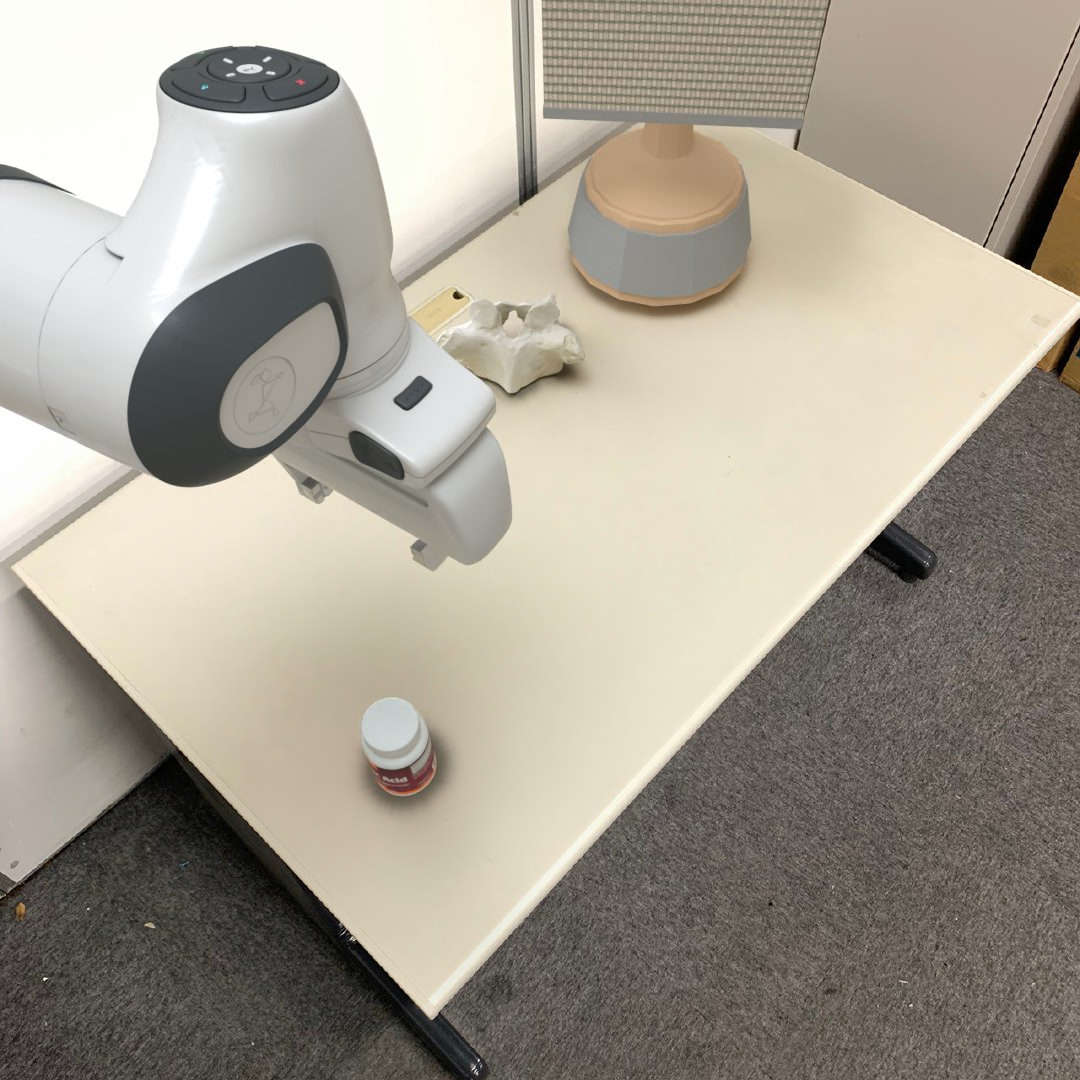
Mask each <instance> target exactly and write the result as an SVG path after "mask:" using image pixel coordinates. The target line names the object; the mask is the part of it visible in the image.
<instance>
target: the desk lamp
mask: <svg viewBox="0 0 1080 1080" xmlns="http://www.w3.org/2000/svg"><path fill="white" fill-rule="evenodd" d="M829 1H830V0H541V34H542V41H541V42H542V82H543V83H542V85H543V105H542V119H546V120H566V121H567V120H570V121H591V122H592V121H593V122H594V121H595V122H617V123H640V124H641V123H642V124H644V125H643V128H636V129H634V130H631V131H628V132H626V133H625V132H624V133H622V134H620V135H616V136H614V137H612V138H610V139H609V140H608V141H607V142H606V143H604V144H603V145H601V146H600V147H599V148H598V149H596V150H595V151H594V152H593V154H592V156H590V157H589V159H588V160H587V163H586V165H585V168H584V169H583V172H582V174H581V176H580V179H579V183H578V187H577V190H576V196H575V199H574V203H573V206H572V211H571V214H570V219H569V223H568V227H567V235H568V242H569V243H568V244H569V249H570V256H571V261H572V264H573V265H574V266H575V267H576V268H577V270H578V271H579V272H580V273H581V275H582V276H583V277H584V278H585V280H586V281H587V283H588V284H590V286H593V287H595V288H597V289H599V290H600V291H603V292H604V293H606V294H608V295H610V296H611V297H613V298H615V299H617V300H620V301H625V302H631V303H634V304H641V305H645V306H650V307H663V306H672V305H673V306H674V305H675V306H676V305H677V306H678V305H686V304H687V305H689V304H693V303H695V302H697V301H700V300H702V299H705V298H707V297H710V296H712V295H715V294H717V293H720V292H722V291H723V290H724V289H725V288H726V287H727V286H728V285H729V284H730V283H731V282H732V281H734V279H735V278H737V277H738V276H739V275H740V274H741V273H742V272H743V268H744V265H745V262H746V259H747V256H748V252H749V249H750V246H751V242H752V228H751V226H752V225H751V212H750V210H751V209H750V197H749V185H748V182H747V178H746V175H745V172H744V169H743V166H742V164H741V163H740V161H739V158H737V157H736V155H735V154H734V153H732V152H731V151H730V150H729V148H728V147H726V146H725V144H723V143H722V142H721V141H718V140H717V139H714V138H712V137H709V136H707V135H705V134H703V133H701V132H699V131H696V130H694V126H709V127H710V126H712V127H732V128H733V127H734V128H754V129H755V128H757V129H758V128H760V129H778V130H779V129H781V130H783V129H784V130H803V125H804V121H805V112H806V107H807V103H808V102H807V101H808V97H809V94H810V89H811V84H812V79H813V75H814V70H815V66H816V60H817V56H818V53H819V52H818V51H819V48H820V42H821V37H822V33H823V28H824V25H825V19H826V14H827V10H828V5H829Z"/></svg>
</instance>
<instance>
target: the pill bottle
mask: <svg viewBox="0 0 1080 1080" xmlns="http://www.w3.org/2000/svg"><path fill="white" fill-rule="evenodd" d="M360 731H361V748H362V751H363V753H364V756H365V758H366V760H367V762H368V766H369V767H370V769H371V772H372V773H373V774H372V775H373V776H374V778H375V780H376V782H377V784H378V785H379V786H380V788H381V789H383V790H384V791H385V792H387V793H388V794H390V795H392V796H396V797H409V796H413V795H416V794H418V793H420V792H422V791H423V790H424V789H425V788H426V787H428V785H430V783H431V782H432V780H433V778H434V777H435V774H436V770H437V757H436V753H435V749H434V745H433V742H432V738H431V735H430V731H429V727H428V724H427V722H426V720H425V718H424V717H423V715H421V713H419V712H418V711H417V710H416V708H415V707H414V705H412V703H411V702H409V701H408V700H406V699H404V698H400V697H393V696H390V697H385V698H381V699H379V700H376V701H374V703H372V704H371V705H370V706H369V707H368V708H367V709H366V711H365V712H364V714H363V716H362V719H361V722H360Z"/></svg>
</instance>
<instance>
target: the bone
mask: <svg viewBox="0 0 1080 1080" xmlns="http://www.w3.org/2000/svg"><path fill="white" fill-rule="evenodd" d="M557 296H558V293H557V292H556V293H553V294H552V293H550V294H549V295H547V296H546V297H544V298H542V299H539V300H533V301H530V300H525V301H523V302H515V303H513V302H509V301H505V300H498V301H496V302H491V301H489V299H487V298H484V297H477V298H476V299H473V300H471V302H470V303H469V304H468V305H467V308H468V312H469V318H470V320H468V321H467V322H464V323H463V324H460V325H455V326H452V327H449V328H448V329H446V330H443V331H442V332H441V334H440V335H439V336H438V338H436V339H437V340H436V341H435V342H436V343H437V344H438V345H439V346H440V347H442V348H443V349H444V350H445V351H446V352H447V353H448V354H449V355H450V356H452V357H453V358H454V359H455V360H456V361H459V360H460V361H463V362H465V363H466V368H467V369H468V370H470V371H471V372H472V373H473V374H474V375H476V376H477V377H479V378H483V379H488V380H489V381H492V382H495V383H496V384H498V385H500V386H501V388H502V389H504V390H505V391H506V392H507V393H508V394H514V393H517V392H519V391H520V389H521V388H524V387H526V386H528V385H530V384H531V383H533V382H534V381H536V380H538V379H540V378H542V377H548V376H551V375H555V374H558V373H560V372H561V371H562V370H563V366H564V363H565V364H566V365H567V364H569V365H570V364H577V363H579V362H584V361H585V359H586V354H585V351H584V349H583V344H582V341H581V339H580V337H579V336H578V335H577V334H576V333H575V332H574V331H573V330H571V329H570V328H567V327H564V326H562V325H561V323H560V322H559V318H560V316H561V311H560V308H559V307H558V306H557V300H556V297H557ZM513 311H516V317H517V318H518V319H521V321H522V326H521V328H520V330H519V332H518V333H517V335H516V336H514V337H512V338H511V336H510V337H509V335H508V333H507V331H505V330H504V327H503V326H504V325H505V323H506V321H507V320H509V317H510V313H511V312H513Z"/></svg>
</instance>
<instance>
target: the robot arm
mask: <svg viewBox="0 0 1080 1080" xmlns="http://www.w3.org/2000/svg"><path fill="white" fill-rule="evenodd" d="M155 103H156V112H157V126H158V127H157V133H156V139H155V144H154V147H153V150H152V154H151V156H150V161H149V165H148V168H147V170H146V173H145V175H144V178H143V180H142V182H141V185H140V187H139V189H138V191H137V193H136V195H135V197H134V199H133V201H132V203H131V204H130V207H129V208H128V209H127V211H126V213H125V212H121V211H119V210H116V209H113V208H111V207H108V206H105V205H102V204H100V203H97V202H94V201H91V200H89V199H86V198H83V197H80V196H78V195H76V194H75V193H74V192H71V191H70V190H67V189H65V188H63V187H60V186H59V185H56V184H54V183H52V182H50V181H47V180H46V179H44V178H41V177H39V176H38V175H35V174H33V173H30V172H29V171H26V170H24V169H21V168H18V167H16V166H13V165H9V164H8V165H7V164H3V163H0V407H1V408H3V409H5V410H7V411H9V412H11V413H14V414H16V415H18V416H20V417H22V418H25V419H27V420H29V421H31V422H33V423H35V424H38V425H40V426H41V427H44V428H45V429H48V430H50V431H53V432H55V433H57V434H59V435H61V436H63V437H65V438H68V439H69V440H71V441H74V442H76V443H77V444H78V445H82V446H84V447H85V448H87V449H89V450H92V451H93V452H96V453H98V454H100V455H102V456H104V457H107V458H109V459H111V460H113V461H115V462H118V463H120V464H122V465H124V466H126V467H129V468H131V469H133V470H135V471H138V472H140V473H142V474H144V475H147V476H149V477H151V478H155V479H157V480H159V481H160V482H163V483H165V484H167V485H170V486H174V487H176V488H177V487H178V488H188V489H189V488H200V487H205V486H209V485H213V484H218V483H221V482H223V481H226V480H228V479H231V478H233V477H235V476H238V475H239V474H241V473H244V472H246V471H247V470H249V469H251V468H253V467H254V466H256V465H257V464H258V463H260V462H262V461H263V460H265V459H266V458H267V457H269V456H270V455H272V456H273V458H274V459H275V460H276V461H277V462H278V463H279V464H280V466H281V467H282V468H283V469H284V471H286V473H287V474H288V475H289V476H290V478H291V479H292V480H294V483H295V486H296V489H297V491H298V493H299V494H300V496H302V497H304V498H306V499H308V500H309V501H310V502H313V503H315V504H317V505H320V504H322V503H323V502H324V501H325V498H326V497H329V496H331V494H332V493H333V492H336V493H338V494H339V495H341V496H343V497H345V498H346V499H348V500H350V501H351V502H354V503H355V504H357V505H359V506H361V507H362V508H364V509H366V510H367V511H369V512H371V513H373V514H375V515H376V516H377V517H379V518H381V519H383V520H385V521H386V522H388V523H390V524H392V525H393V526H396V527H397V528H399V529H400V530H402V531H404V532H406V533H407V534H409V535H411V536H413V537H414V538H416V539H415V541H414V542H413V543H412V544H411V545H410V546H409V548H410V552H411V555H412V561H414V562H416V563H418V564H419V565H420V566H421V567H424V568H425V569H427V570H429V571H430V572H435V571H437V569H438V568H439V567H440V566H441V565H442V564H443V563H444V562H445V561H446V560H447V558H448V557H450V558H451V559H452V560H454V561H456V562H457V563H460V564H461V565H463V566H472V565H475V564H477V563H480V562H481V561H482V560H484V559H485V558H486V557H487V556H488V555H489V554H490V553H491V552H492V551H493V550H494V549H495V548H496V547H497V546H498V544H499V543H500V542H501V540H502V539H503V538H504V536H505V535H506V534H507V533H508V532H509V529H510V527H511V525H512V522H513V504H512V494H511V493H512V492H511V485H510V479H509V473H508V468H507V463H506V458H505V454H504V451H503V449H502V447H501V445H500V443H499V440H498V439H497V438H496V436H495V435H494V433H493V432H492V431H491V430H490V429H489V427H488V424H489V423H490V422H491V421H492V420H493V418H494V416H495V415H496V413H497V399H496V396H495V393H494V392H493V390H492V389H491V388H490V386H489V385H488V384H487V383H486V382H485V381H484V380H482V379H481V378H480V377H479V376H477V375H476V374H474V372H473V371H471V370H470V369H469V368H467V367H465V366H464V365H463V364H461V363H460V362H459V360H455V359H454V358H453V357H452V356H450V355H449V354H448V353H447V352H446V351H445V350H444V349H443V348H442V347H440V346H439V345H438V344H437V343H436V341H435V340H434V339H433V337H432V336H431V335H430V334H429V333H428V332H427V331H426V330H425V328H424V327H423V326H422V325H421V324H420V323H419V322H418V321H417V320H416V319H415V318H413V317H412V316H411V315H408V312H407V305H406V301H405V298H404V294H403V292H402V290H401V288H400V286H399V284H398V282H397V280H396V279H395V277H394V275H393V273H392V269H391V265H392V259H393V252H394V233H393V227H392V222H391V216H390V211H389V204H388V199H387V194H386V190H385V185H384V181H383V176H382V172H381V168H380V164H379V161H378V156H377V153H376V150H375V146H374V142H373V139H372V136H371V133H370V130H369V127H368V124H367V122H366V118H365V116H364V113H363V110H362V109H361V107H360V103H359V102H358V100H357V98H356V96H355V95H354V92H353V91H352V89H351V87H350V86H349V84H348V83H347V81H346V80H345V78H344V77H343V76H342V75H341V74H340V73H339V72H338V71H337V70H335V69H333V68H331V67H330V66H328V65H327V64H326V63H325V62H321V61H319V60H317V59H314V58H311V57H309V56H305V55H303V54H299V53H296V52H292V51H289V50H283V49H279V48H274V47H271V46H264V45H254V46H253V45H242V46H241V45H240V46H239V45H238V46H234V45H226V46H219V47H215V48H209V49H205V50H204V49H203V50H200V51H198V52H194V53H191V54H189V55H187V56H185V57H183V58H181V59H179V60H177V62H174V63H173V64H171V65H169V66H168V67H166V68H165V70H163V71H162V72H161V74H160V75H159V77H158V78H157V81H156V85H155Z"/></svg>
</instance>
